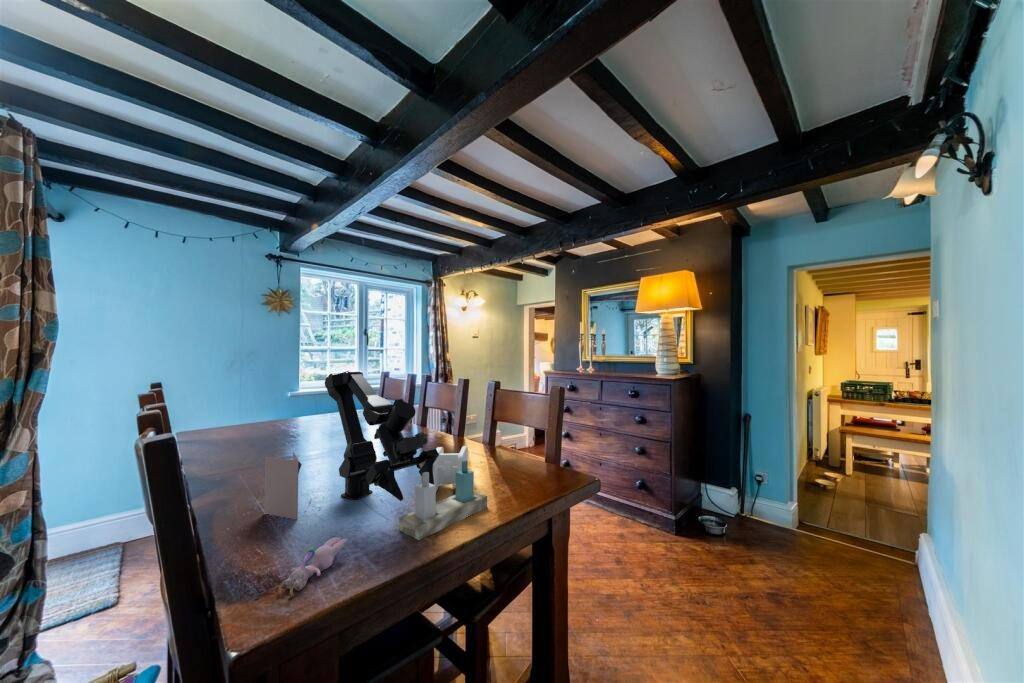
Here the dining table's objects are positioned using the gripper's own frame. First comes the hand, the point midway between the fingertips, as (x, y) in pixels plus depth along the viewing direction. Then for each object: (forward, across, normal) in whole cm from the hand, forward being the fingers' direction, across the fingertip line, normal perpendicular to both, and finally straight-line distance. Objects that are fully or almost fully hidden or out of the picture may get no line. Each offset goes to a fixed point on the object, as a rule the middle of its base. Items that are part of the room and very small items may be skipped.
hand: (418, 494), depth 89 cm
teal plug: (+7, +13, +3) cm, 15 cm away
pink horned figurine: (+6, -24, +4) cm, 25 cm away
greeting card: (-17, -19, +28) cm, 38 cm away
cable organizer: (-4, +21, +15) cm, 26 cm away
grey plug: (+7, 0, +3) cm, 8 cm away
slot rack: (+7, +7, +3) cm, 10 cm away
